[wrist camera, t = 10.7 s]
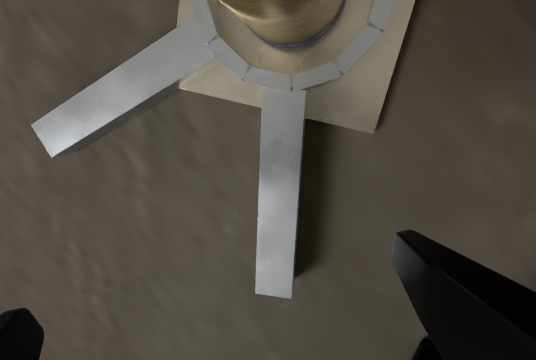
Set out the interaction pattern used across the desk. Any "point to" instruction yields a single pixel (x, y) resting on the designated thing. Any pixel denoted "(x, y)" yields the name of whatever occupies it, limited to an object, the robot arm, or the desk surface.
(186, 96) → the desk surface
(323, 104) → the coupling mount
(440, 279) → the robot arm
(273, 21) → the glass jar
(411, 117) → the desk surface
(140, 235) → the desk surface
